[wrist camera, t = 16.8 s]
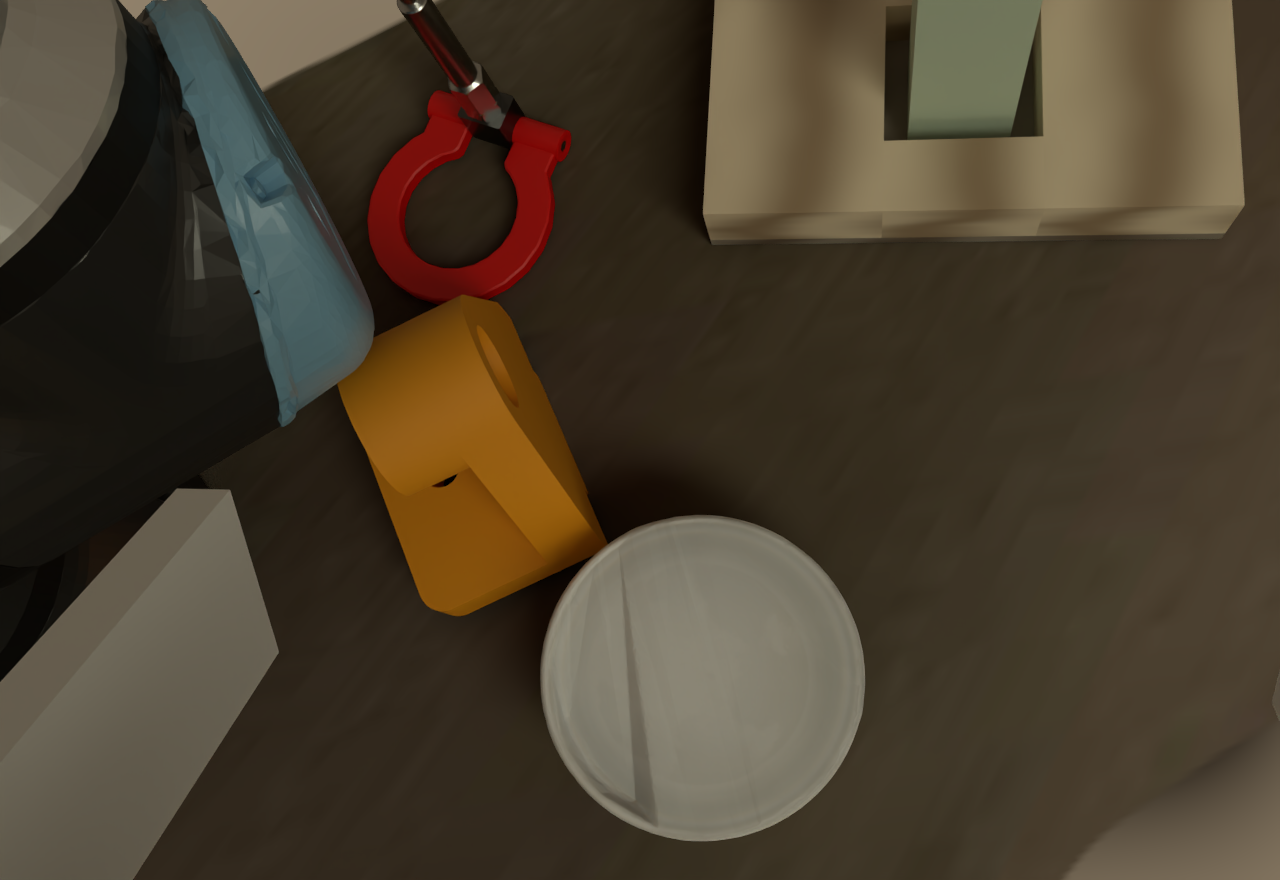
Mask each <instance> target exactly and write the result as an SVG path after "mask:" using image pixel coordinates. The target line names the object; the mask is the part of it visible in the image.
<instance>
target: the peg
mask: <svg viewBox="0 0 1280 880" xmlns="http://www.w3.org/2000/svg"><path fill="white" fill-rule="evenodd" d="M1041 5H1042V0H912V10H911V26H910V41H909V56H908V117H907V140H932V139H968V138H1004V137H1010V135H1011V131H1012V126H1013V122H1014V118H1015V114H1016V110H1017V105H1018V101H1019V97H1020V93H1021V89H1022V84H1023V80H1024V76H1025V72H1026V68H1027V63H1028V59H1029V55H1030V51H1031V47H1032V42H1033V38H1034V34H1035V30H1036V26H1037V21H1038V17H1039V13H1040V9H1041Z"/></svg>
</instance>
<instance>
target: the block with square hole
mask: <svg viewBox="0 0 1280 880" xmlns="http://www.w3.org/2000/svg"><path fill="white" fill-rule="evenodd" d="M911 10H912V0H715V7H714V25H713V43H712V60H711V78H710V96H709V114H708V132H707V150H706V167H705V185H704V203H703V216H704V220H705V223H706V227H707V230H708V233H709V237H710V240H711V244H712V245H745V244H827V243H910V242H992V241H1075V240H1157V239H1221V238H1222V237H1223V236H1224V234H1225V233H1226V231H1227V230H1228V228H1229V227H1230V225H1231V224H1232V223H1233V221H1234V220H1235V218H1236V217H1237V215H1238V214H1239V212H1240V211H1241V210H1242V208H1243V207H1244V205H1245V204H1244V188H1243V172H1242V156H1241V140H1240V124H1239V108H1238V92H1237V77H1236V61H1235V45H1234V29H1233V13H1232V0H1042V5H1041V9H1040V13H1039V17H1038V21H1037V26H1036V30H1035V34H1034V38H1033V42H1032V47H1031V51H1030V55H1029V59H1028V63H1027V68H1026V72H1025V76H1024V80H1023V84H1022V89H1021V93H1020V97H1019V101H1018V105H1017V110H1016V114H1015V118H1014V122H1013V126H1012V131H1011V135H1010V137H1004V138H968V139H932V140H907V117H908V56H909V41H910V26H911Z"/></svg>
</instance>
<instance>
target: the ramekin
mask: <svg viewBox="0 0 1280 880" xmlns="http://www.w3.org/2000/svg"><path fill="white" fill-rule="evenodd" d="M540 685H541V698H542V705H543V711H544V715H545V719H546V722H547V727H548V730H549V733H550V735H551V738H552V740H553V743H554V745H555V747H556V749H557V751H558V753H559V755H560V757H561V759H562V760H563V762H564V764H565V765H566V767H567V769H568V770H569V771H570V772H571V774H572V775H573V776H574V778H575V779H576V780H577V782H578V783H579V784H580V785H581V786H582V787H583V789H584V790H585V791H586V792H587V793H588V794H589V795H590V796H591V797H592V798H593V799H594V800H596V801H597V802H598V803H599V804H600V805H601V806H603V807H604V808H605V809H607V810H608V811H609V812H611V813H612V814H614V815H615V816H617V817H618V818H620V819H622V820H624V821H626V822H627V823H629V824H631V825H633V826H636V827H638V828H640V829H643V830H645V831H648V832H650V833H654V834H657V835H660V836H664V837H668V838H673V839H678V840H687V841H716V840H724V839H730V838H736V837H741V836H744V835H748V834H751V833H754V832H757V831H760V830H762V829H765V828H767V827H770V826H772V825H774V824H776V823H778V822H780V821H781V820H783V819H785V818H787V817H788V816H790V815H792V814H793V813H794V812H796V811H797V810H799V809H800V808H802V807H803V806H804V805H805V804H806V803H808V802H809V801H810V800H811V799H812V798H813V797H814V796H816V795H817V794H818V793H819V792H820V791H821V789H822V788H823V787H824V786H825V785H826V784H827V783H828V782H829V780H830V779H831V778H832V777H833V775H834V774H835V772H836V771H837V769H838V768H839V766H840V765H841V763H842V761H843V760H844V758H845V756H846V754H847V752H848V750H849V748H850V746H851V744H852V742H853V739H854V736H855V734H856V731H857V728H858V725H859V722H860V718H861V715H862V711H863V701H864V691H865V666H864V658H863V652H862V646H861V642H860V637H859V634H858V631H857V627H856V625H855V622H854V619H853V617H852V615H851V613H850V611H849V609H848V606H847V604H846V602H845V600H844V599H843V597H842V595H841V594H840V592H839V590H838V589H837V587H836V586H835V584H834V583H833V582H832V580H831V579H830V578H829V576H828V575H827V574H826V573H825V572H824V570H823V569H822V568H821V567H820V566H819V565H818V564H817V563H816V562H815V561H814V560H813V559H812V558H811V557H810V556H808V555H807V554H806V553H805V552H804V551H802V550H801V549H799V548H798V547H797V546H795V545H794V544H792V543H791V542H790V541H788V540H787V539H785V538H784V537H782V536H780V535H778V534H776V533H774V532H772V531H770V530H768V529H766V528H763V527H761V526H758V525H756V524H753V523H750V522H747V521H743V520H739V519H734V518H729V517H723V516H714V515H691V516H679V517H673V518H669V519H664V520H659V521H656V522H652V523H649V524H645V525H642V526H639V527H636V528H634V529H632V530H630V531H628V532H627V533H625V534H623V535H622V536H620V537H618V538H616V539H615V540H613V541H612V542H610V543H609V544H608V545H606V546H605V547H604V548H602V549H601V550H600V551H599V552H597V553H596V554H595V555H594V556H593V557H592V558H591V559H590V560H589V561H587V562H586V564H585V565H584V566H583V567H582V568H581V569H580V570H579V571H578V573H577V574H576V575H575V576H574V578H573V579H572V580H571V581H570V583H569V584H568V586H567V587H566V589H565V591H564V592H563V594H562V596H561V597H560V599H559V601H558V603H557V605H556V607H555V610H554V612H553V615H552V617H551V620H550V622H549V625H548V629H547V632H546V636H545V639H544V644H543V650H542V656H541V666H540Z"/></svg>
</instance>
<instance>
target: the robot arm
mask: <svg viewBox="0 0 1280 880" xmlns="http://www.w3.org/2000/svg"><path fill="white" fill-rule="evenodd" d="M374 330H375V327H374V315H373V310H372V307H371V303H370V301H369V298H368V295H367V293H366V291H365V288H364V286H363V284H362V282H361V279H360V277H359V275H358V273H357V270H356V268H355V266H354V264H353V262H352V260H351V258H350V255H349V253H348V251H347V249H346V247H345V245H344V243H343V241H342V239H341V237H340V235H339V233H338V231H337V229H336V227H335V225H334V223H333V221H332V219H331V217H330V215H329V213H328V212H327V210H326V208H325V206H324V204H323V202H322V200H321V198H320V196H319V194H318V192H317V190H316V188H315V187H314V185H313V183H312V181H311V179H310V177H309V175H308V173H307V172H306V170H305V168H304V166H303V164H302V162H301V160H300V159H299V157H298V155H297V153H296V151H295V149H294V148H293V146H292V144H291V142H290V140H289V139H288V137H287V135H286V133H285V131H284V130H283V128H282V126H281V124H280V122H279V121H278V119H277V117H276V115H275V113H274V112H273V110H272V108H271V106H270V104H269V103H268V101H267V99H266V97H265V96H264V94H263V92H262V90H261V89H260V87H259V85H258V84H257V82H256V80H255V78H254V77H253V75H252V73H251V71H250V70H249V68H248V66H247V65H246V63H245V62H244V60H243V58H242V56H241V55H240V53H239V52H238V50H237V48H236V47H235V45H234V43H233V42H232V40H231V39H230V37H229V35H228V34H227V32H226V31H225V29H224V28H223V26H222V25H221V24H220V22H219V21H218V19H217V18H216V17H215V16H214V15H213V14H212V13H211V12H210V11H209V10H208V9H207V6H206V5H205V4H204V3H203V2H202V1H201V0H167V1H162V0H155V1H154V0H153V1H151V3H149V4H148V5H147V6H145V9H144V10H143V11H142V13H141V14H140V15H139V16H138V17H137V19H135V18H134V17H133V16H132V15H131V14H130V13H129V12H128V10H126V8H125V7H124V6H123V5H122V4H121V3H120V2H119V0H0V880H133V878H134V877H135V875H136V874H137V872H138V871H139V869H140V868H141V866H142V864H143V863H144V861H145V860H146V858H147V857H148V855H149V854H150V852H151V850H152V849H153V847H154V846H155V844H156V843H157V841H158V840H159V838H160V836H161V835H162V833H163V832H164V830H165V829H166V827H167V826H168V824H169V822H170V821H171V819H172V818H173V816H174V815H175V813H176V812H177V810H178V808H179V807H180V805H181V804H182V802H183V801H184V799H185V798H186V796H187V794H188V793H189V791H190V790H191V788H192V787H193V785H194V784H195V782H196V780H197V779H198V777H199V776H200V774H201V773H202V771H203V770H204V768H205V766H206V765H207V763H208V762H209V760H210V759H211V757H212V755H213V754H214V752H215V751H216V749H217V748H218V746H219V745H220V743H221V741H222V740H223V738H224V737H225V735H226V734H227V732H228V731H229V729H230V727H231V726H232V724H233V723H234V721H235V720H236V718H237V717H238V715H239V713H240V712H241V710H242V709H243V707H244V706H245V704H246V703H247V701H248V699H249V698H250V696H251V695H252V693H253V692H254V690H255V689H256V687H257V685H258V684H259V682H260V681H261V679H262V678H263V676H264V675H265V673H266V671H267V670H268V668H269V667H270V665H271V664H272V662H273V661H274V659H275V657H276V656H277V654H278V653H279V651H278V647H277V644H276V641H275V637H274V634H273V631H272V627H271V624H270V621H269V617H268V614H267V611H266V608H265V604H264V601H263V598H262V594H261V591H260V588H259V584H258V581H257V578H256V574H255V571H254V568H253V564H252V561H251V558H250V555H249V551H248V548H247V545H246V541H245V538H244V535H243V531H242V528H241V525H240V521H239V518H238V515H237V511H236V508H235V505H234V501H233V498H232V495H231V492H230V490H218V489H208V488H207V486H206V485H205V483H204V482H203V481H202V479H201V478H200V477H199V475H198V474H199V473H201V472H203V471H205V470H206V469H208V468H210V467H211V466H213V465H215V464H216V463H218V462H220V461H222V460H223V459H225V458H227V457H228V456H230V455H232V454H233V453H235V452H237V451H239V450H240V449H242V448H244V447H245V446H247V445H249V444H250V443H252V442H254V441H256V440H257V439H259V438H261V437H262V436H264V435H266V434H267V433H269V432H271V431H272V430H274V429H276V428H278V427H284V426H285V425H287V424H289V423H290V422H291V421H292V420H293V419H294V418H295V417H296V412H297V411H298V410H300V409H301V408H303V407H304V406H306V405H307V404H308V403H310V402H311V401H313V400H314V399H315V398H317V397H318V396H320V395H321V394H323V393H324V392H325V391H327V390H328V389H330V388H331V387H332V386H334V385H335V384H337V383H338V382H340V381H341V380H342V379H344V378H345V377H347V376H348V375H349V374H351V373H352V372H354V371H355V370H356V369H357V368H358V367H359V366H360V365H361V363H362V362H363V361H364V360H365V357H366V356H367V354H368V352H369V350H370V348H371V345H372V342H373V335H374ZM1272 704H1273V707H1274V709H1275V712H1276V714H1277V717H1278V719H1279V722H1280V670H1279V674H1278V678H1277V683H1276V687H1275V691H1274V695H1273V699H1272Z"/></svg>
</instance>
